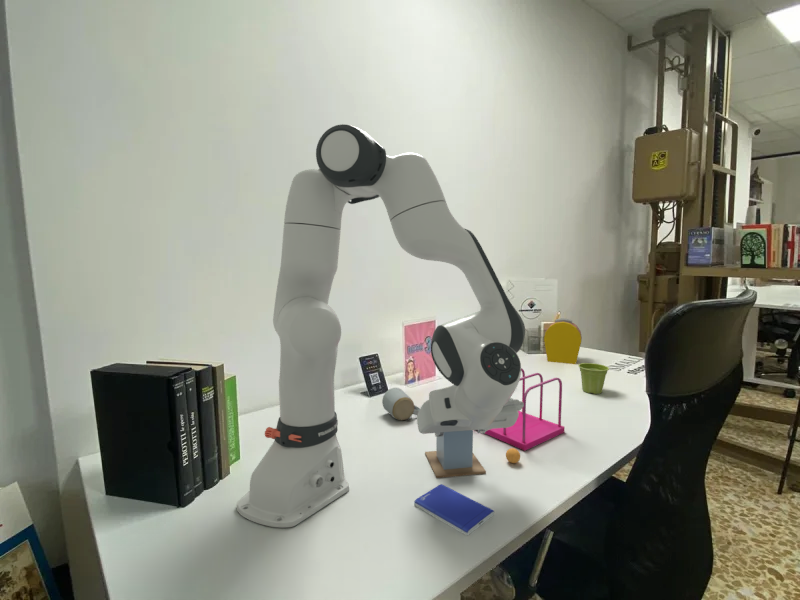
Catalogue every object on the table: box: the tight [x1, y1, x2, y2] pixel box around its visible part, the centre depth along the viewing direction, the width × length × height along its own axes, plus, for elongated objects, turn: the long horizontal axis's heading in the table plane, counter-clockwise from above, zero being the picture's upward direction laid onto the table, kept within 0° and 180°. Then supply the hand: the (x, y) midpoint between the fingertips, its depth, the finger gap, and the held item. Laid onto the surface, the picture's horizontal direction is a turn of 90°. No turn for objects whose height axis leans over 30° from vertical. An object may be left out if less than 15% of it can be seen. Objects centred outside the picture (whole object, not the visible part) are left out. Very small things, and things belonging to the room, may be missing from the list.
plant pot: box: [578, 362, 610, 395], centre depth 144 cm, size 9×9×9 cm
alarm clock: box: [543, 318, 582, 365], centre depth 184 cm, size 15×8×18 cm, turn 66°
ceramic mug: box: [381, 387, 421, 421], centre depth 123 cm, size 11×8×8 cm
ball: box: [505, 447, 521, 464], centre depth 96 cm, size 3×3×3 cm
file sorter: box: [484, 367, 565, 452], centre depth 115 cm, size 17×25×16 cm
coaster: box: [424, 450, 487, 479], centre depth 96 cm, size 11×11×1 cm
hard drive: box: [413, 483, 495, 536], centre depth 79 cm, size 2×8×12 cm
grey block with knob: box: [435, 430, 474, 470], centre depth 95 cm, size 6×6×10 cm
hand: (459, 431), depth 91 cm, fingers open, 8 cm apart
